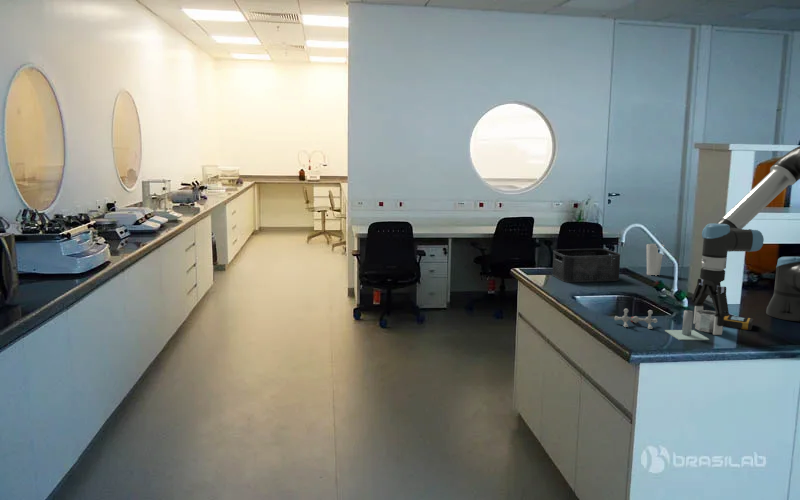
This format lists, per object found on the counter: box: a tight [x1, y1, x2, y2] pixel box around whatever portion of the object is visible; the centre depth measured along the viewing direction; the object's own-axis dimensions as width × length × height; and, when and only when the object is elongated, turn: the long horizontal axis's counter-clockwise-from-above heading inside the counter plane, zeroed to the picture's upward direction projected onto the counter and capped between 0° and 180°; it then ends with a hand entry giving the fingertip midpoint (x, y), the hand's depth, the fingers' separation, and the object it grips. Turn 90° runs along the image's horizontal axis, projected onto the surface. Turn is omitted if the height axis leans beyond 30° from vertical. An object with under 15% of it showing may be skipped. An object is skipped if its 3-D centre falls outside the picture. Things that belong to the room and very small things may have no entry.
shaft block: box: [664, 309, 710, 341], centre depth 196 cm, size 10×10×8 cm
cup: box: [646, 243, 665, 277], centre depth 297 cm, size 8×8×16 cm
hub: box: [694, 309, 716, 334], centre depth 203 cm, size 7×7×6 cm
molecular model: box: [614, 308, 658, 330], centre depth 209 cm, size 14×8×10 cm
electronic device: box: [723, 314, 754, 331], centre depth 211 cm, size 8×16×3 cm, turn 55°
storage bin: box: [551, 248, 621, 283], centre depth 288 cm, size 29×19×13 cm
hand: (707, 329), depth 204 cm, fingers open, 12 cm apart
